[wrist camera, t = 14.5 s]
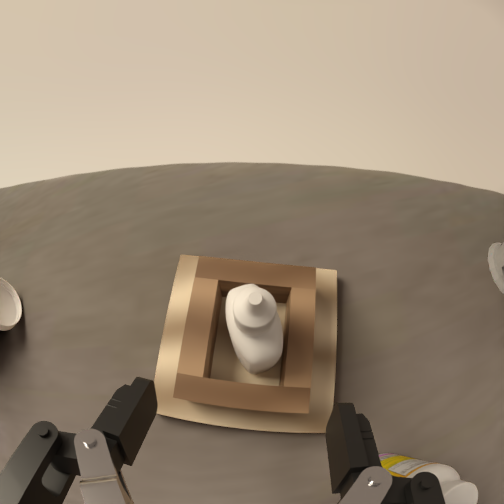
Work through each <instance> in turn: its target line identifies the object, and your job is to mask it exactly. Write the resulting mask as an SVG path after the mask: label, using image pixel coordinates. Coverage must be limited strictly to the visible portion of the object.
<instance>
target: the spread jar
mask: <svg viewBox="0 0 504 504" xmlns="http://www.w3.org/2000/svg"><path fill="white" fill-rule="evenodd" d="M21 314H22V306H21V301H20V299H19V296H18V294H17V292H16V291H15V289H14V288H13V287H12V286H11V285H10V284H9V283H8V282H7V281H6V280H4V279H2V278H0V331H1V330H2V331H7V330H10V329H12V328H13V327H14V326H15V325H16V324H17V323H18V321H19V320H20V318H21Z"/></svg>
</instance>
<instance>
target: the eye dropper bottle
mask: <svg viewBox="0 0 504 504" xmlns="http://www.w3.org/2000/svg"><path fill="white" fill-rule="evenodd" d="M276 305H277V304H276V302H275V300H274V298H273V296H272V294H270V293H269V292H268V291H267V290H265V289H263V288H260V287H258V286H257V285H255V284H246V285H242V286H239V287H236V288H233V289H232V290H230V291H229V293H228V295H227V299H226V321H227V326H228V330H229V334H230V337H231V341H232V344H233V347H234V350H235V353H236V355H237V357H238V359H239V361H240V362H241V364H242V365H243V366H244V368H245V369H246V370H247V371H248V372H249V373H251V374H259V373H262V372H265V371H268V370H270V369H272V368H273V367H274V366H275V364H276V363H277V362H278V360H279V358H280V356H281V354H282V350H283V331H282V325H281V321H280V318H279V315H278V312H277V306H276Z"/></svg>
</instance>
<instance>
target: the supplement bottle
mask: <svg viewBox="0 0 504 504" xmlns="http://www.w3.org/2000/svg"><path fill="white" fill-rule="evenodd" d="M379 458H380V462H381V465H382V467H383V468H385V469H386V470H388V471H389V472H390V474H391V475H393V476H397V477H406V478H413V477H414V476H415V475H416V474H417V473H420V472H430V473H433V474H434V475H436V477H437V478H438V480H439V482H440V486H441V489H442V493H443V496H444V500H445V504H477V500H478V490H477V487H476V486H475V485H474V484H473V483H471V482H466V481H463V480H461V479H460V476H459V474H458V473H457V471H456V470H455V469H453V468H452V467H450V466H448V465H444V464H440V463H434V462H428V461H423V460H419V459H414V458H410V457H406V456H401V455H397V454H390V453H385V454H379Z"/></svg>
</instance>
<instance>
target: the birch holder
mask: <svg viewBox="0 0 504 504" xmlns="http://www.w3.org/2000/svg"><path fill="white" fill-rule="evenodd" d="M246 284H255V285H257V286H258V287H260V288H263V289H265V290H267V291H268V292H269V293H270V294H272V296H273V298H274V300H275V302H276V304H277V305H276V306H277V312H278V315H279V318H280V321H281V325H282V331H283V350H282V354H281V356H280V358H279V360H278V362H277V363H276V364H275V366H274V367H273V368H272V369H270V370H268V371H265V372H262V373H259V374H251V373H249V372H248V371H247V370H246V369H245V368H244V366H243V365H242V364H241V362H240V361H239V359H238V357H237V355H236V353H235V350H234V347H233V344H232V341H231V337H230V334H229V330H228V326H227V321H226V299H227V295H228V293H229V291H230V290H232V289H233V288H236V287H239V286H242V285H246ZM336 346H337V270H329V269H318V268H314V267H303V266H293V265H283V264H273V263H262V262H253V261H243V260H233V259H223V258H214V257H204V256H189V255H181V256H180V260H179V264H178V268H177V272H176V276H175V280H174V285H173V289H172V293H171V298H170V302H169V307H168V312H167V316H166V321H165V326H164V331H163V336H162V341H161V346H160V351H159V357H158V362H157V368H156V374H155V380H154V384H155V390H156V396H157V402H158V408H157V414H161V415H165V416H170V417H174V418H179V419H184V420H189V421H194V422H199V423H205V424H211V425H218V426H224V427H232V428H240V429H249V430H260V431H273V432H293V433H326V426H327V423H328V420H329V418H330V415H331V413H332V410H333V402H334V388H335V370H336Z"/></svg>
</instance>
